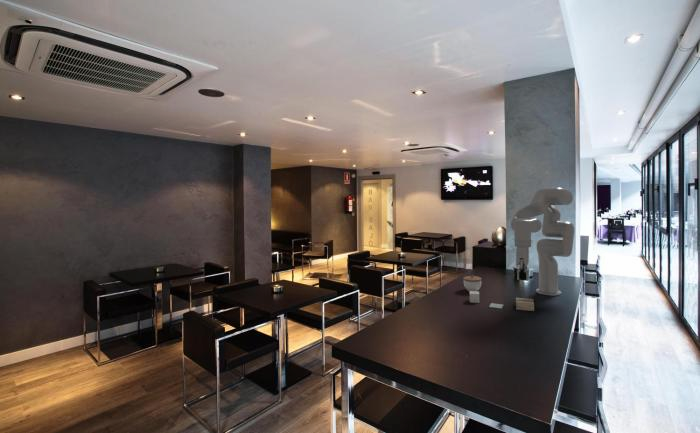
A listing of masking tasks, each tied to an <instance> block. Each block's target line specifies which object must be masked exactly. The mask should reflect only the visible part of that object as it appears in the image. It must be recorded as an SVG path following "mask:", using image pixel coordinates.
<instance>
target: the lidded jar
mask: <svg viewBox="0 0 700 433" xmlns="http://www.w3.org/2000/svg"><path fill="white" fill-rule="evenodd" d="M462 279H463V285H464V288H465V289H466V290H467V291H468V292H470V291H478V292H479V290H480V289H481V287H482V277H481V276H477V275H476V276H475V275H469V276H468V275H466V276H463V278H462Z"/></svg>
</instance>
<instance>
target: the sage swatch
mask: <svg viewBox="0 0 700 433" xmlns="http://www.w3.org/2000/svg"><path fill="white" fill-rule="evenodd" d="M503 307H504V304H501V303H500V304H499V303H494V302H491V303H490V305H489V306H488V308H491V309H492V308H493V309H501V310H502V309H503Z"/></svg>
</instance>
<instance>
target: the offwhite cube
mask: <svg viewBox="0 0 700 433" xmlns="http://www.w3.org/2000/svg"><path fill="white" fill-rule="evenodd" d="M469 303H473V304H480V291H479V290H478V291H469Z"/></svg>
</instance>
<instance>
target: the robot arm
mask: <svg viewBox="0 0 700 433" xmlns="http://www.w3.org/2000/svg"><path fill="white" fill-rule="evenodd" d="M573 198H574V196H573V193H572V191H571V190H569V189H567V188H563V187H546V188H545V187H543V188H539V189H538V190H536V192H535V194H534V196H533V198H532V199H531V202H529V204H528V205H526V206H524V207H522V208H520V209H519V210H517V211H516V212H515V214H514V216H513V217H512V219H511V222H510V227H511V230H512V231H513V232H514V236H513V238H514V247H515V248H516V250H515V251H516V252H515V254H516V255H515V257H516V258H515V265H516V267H518V268H519V280H518V281H524V280H526V269H528V265H529V262H530V261H529V260H530V257H529V256H530V255H529V253H530V251H529V248H531V247H532V233H534V234H535V233H538V232H539V231H541V235H543V237H546V238H542V239H539V240H537V242H536V253H537V256H538V288H536V290H535V292H536V293H538V294H540V295H543V296H551V297H552V296H554V297H555V296H561V295H562V290H560V289H559V271H558V270H559V268H558V266H559V263H558V262H557V259H556V258H555V257H561V258H562V257H563V258H568V257H571V255H572V253H573V249H574V248H573V246H574V238H575V226H574V224H573V223H572V222H570V221H562V220H561V215H562V214H561V211H560V210H559V209H558V208H557V207H556V206H569V205H570V204H571V203H572V201H573V200H574V199H573ZM541 215H543V220H542V221H541V220H540V219H538V218H535V217H537V216H538V217H539V216H541Z"/></svg>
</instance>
